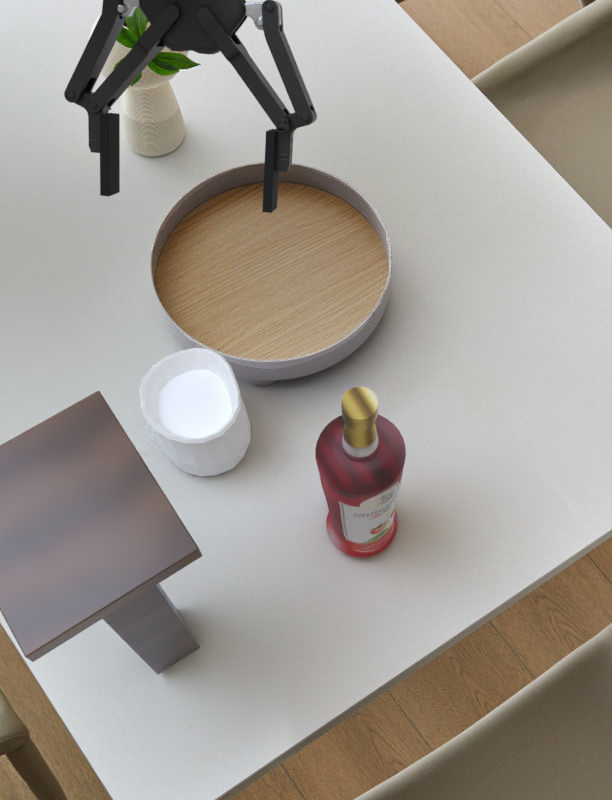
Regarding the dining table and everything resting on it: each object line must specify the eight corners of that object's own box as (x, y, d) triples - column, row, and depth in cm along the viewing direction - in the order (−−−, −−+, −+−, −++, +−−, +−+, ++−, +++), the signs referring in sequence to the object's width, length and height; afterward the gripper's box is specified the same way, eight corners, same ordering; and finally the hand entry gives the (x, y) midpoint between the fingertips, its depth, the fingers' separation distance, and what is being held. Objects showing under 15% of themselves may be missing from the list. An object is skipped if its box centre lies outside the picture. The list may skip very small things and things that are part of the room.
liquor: (375, 479, 101) (377, 342, 76) (413, 540, 99) (428, 419, 73) (311, 514, 100) (291, 386, 74) (348, 577, 97) (340, 467, 72)
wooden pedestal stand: (78, 618, 95) (-69, 483, 63) (186, 551, 98) (98, 389, 66) (146, 738, 90) (25, 657, 59) (257, 664, 93) (199, 548, 62)
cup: (199, 375, 106) (183, 328, 97) (275, 426, 104) (266, 383, 95) (137, 443, 102) (116, 401, 94) (215, 497, 100) (200, 460, 91)
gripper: (360, -55, 82) (342, 210, 89) (55, -83, 82) (60, 181, 89) (350, -65, 75) (331, 224, 82) (16, -96, 75) (25, 193, 82)
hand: (189, 202), depth 86 cm, fingers open, 13 cm apart
